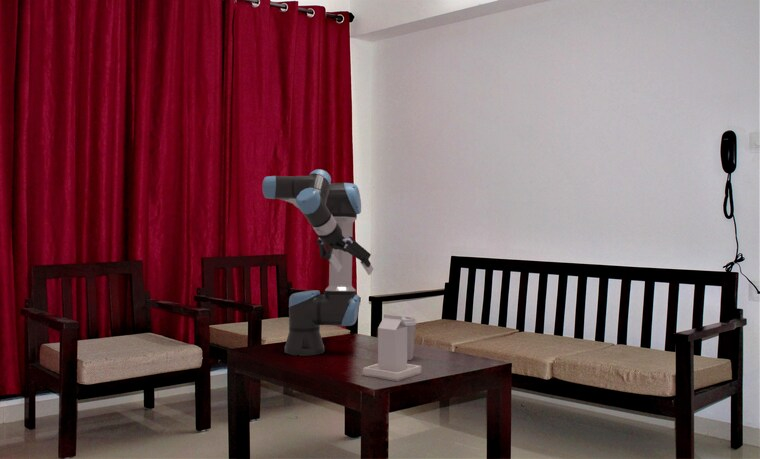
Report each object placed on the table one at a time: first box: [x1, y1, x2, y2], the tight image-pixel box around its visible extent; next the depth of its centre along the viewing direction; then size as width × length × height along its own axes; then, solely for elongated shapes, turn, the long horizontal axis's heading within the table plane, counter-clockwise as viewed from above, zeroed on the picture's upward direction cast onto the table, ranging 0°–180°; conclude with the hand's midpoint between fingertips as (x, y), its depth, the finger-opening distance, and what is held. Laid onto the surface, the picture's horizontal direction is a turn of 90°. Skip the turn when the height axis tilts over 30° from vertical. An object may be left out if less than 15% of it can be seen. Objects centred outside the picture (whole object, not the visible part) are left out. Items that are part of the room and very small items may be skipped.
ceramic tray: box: [362, 363, 422, 382], centre depth 247 cm, size 14×14×2 cm
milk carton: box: [377, 314, 408, 373], centre depth 247 cm, size 7×7×19 cm
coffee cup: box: [401, 315, 418, 361], centre depth 272 cm, size 10×10×15 cm
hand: (355, 270), depth 256 cm, fingers open, 13 cm apart
